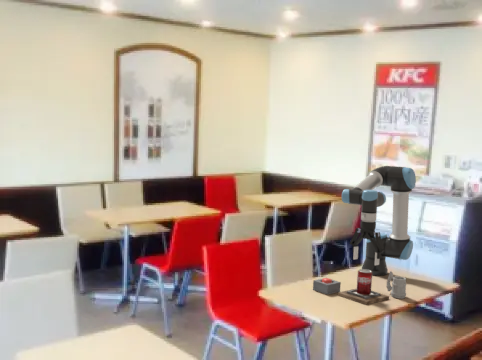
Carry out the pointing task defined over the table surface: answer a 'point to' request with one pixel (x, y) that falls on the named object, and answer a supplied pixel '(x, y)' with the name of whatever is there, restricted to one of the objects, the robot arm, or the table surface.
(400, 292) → the mug
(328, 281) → the button
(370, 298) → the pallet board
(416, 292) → the table surface
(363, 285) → the soda can
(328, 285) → the button housing
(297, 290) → the table surface
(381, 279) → the table surface
